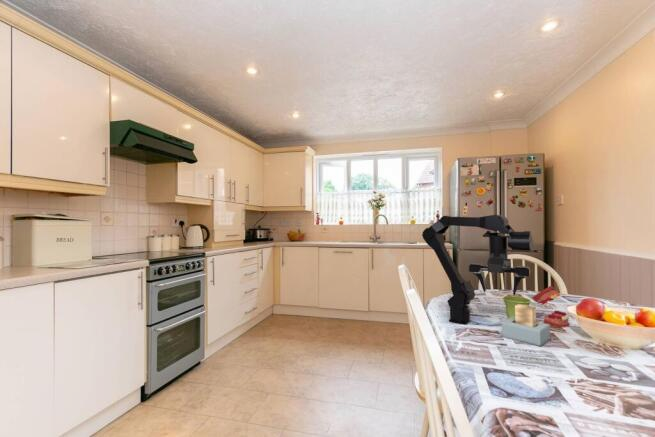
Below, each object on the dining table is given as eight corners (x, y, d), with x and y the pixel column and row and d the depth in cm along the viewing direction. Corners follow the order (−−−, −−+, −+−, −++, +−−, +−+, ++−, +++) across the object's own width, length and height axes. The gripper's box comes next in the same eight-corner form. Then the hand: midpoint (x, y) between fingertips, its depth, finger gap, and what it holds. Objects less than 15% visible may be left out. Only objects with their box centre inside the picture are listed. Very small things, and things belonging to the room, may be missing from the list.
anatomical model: (571, 328, 107) (551, 286, 111) (546, 331, 112) (528, 291, 117) (577, 322, 113) (558, 283, 118) (554, 325, 119) (536, 288, 124)
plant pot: (536, 326, 112) (535, 302, 112) (508, 324, 113) (507, 301, 114) (525, 318, 121) (524, 296, 121) (499, 317, 123) (498, 295, 123)
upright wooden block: (515, 335, 101) (515, 305, 101) (519, 333, 102) (518, 304, 103) (532, 340, 97) (532, 308, 97) (536, 338, 98) (535, 307, 99)
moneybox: (501, 336, 101) (501, 321, 101) (512, 330, 107) (512, 316, 107) (540, 346, 92) (540, 330, 93) (550, 339, 98) (549, 324, 98)
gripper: (465, 250, 107) (465, 294, 107) (527, 252, 96) (528, 301, 96) (471, 248, 116) (472, 288, 116) (529, 250, 105) (530, 295, 105)
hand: (499, 293), depth 108 cm, fingers open, 9 cm apart
